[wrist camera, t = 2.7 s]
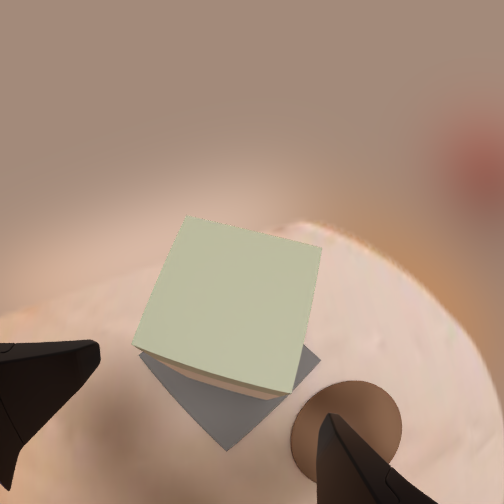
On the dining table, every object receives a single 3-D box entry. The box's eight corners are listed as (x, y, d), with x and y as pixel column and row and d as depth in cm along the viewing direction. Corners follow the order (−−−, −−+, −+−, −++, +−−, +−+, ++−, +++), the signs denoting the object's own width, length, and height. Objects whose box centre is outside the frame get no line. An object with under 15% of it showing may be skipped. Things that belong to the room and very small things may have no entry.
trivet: (347, 504, 15) (349, 506, 15) (265, 442, 18) (266, 443, 18) (416, 421, 19) (420, 421, 18) (345, 359, 22) (347, 358, 21)
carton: (266, 399, 20) (291, 393, 9) (188, 377, 20) (131, 344, 10) (285, 326, 23) (322, 247, 12) (211, 306, 23) (186, 215, 13)
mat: (227, 450, 18) (226, 451, 18) (140, 356, 21) (138, 355, 21) (319, 361, 22) (320, 360, 21) (230, 278, 25) (230, 276, 25)
